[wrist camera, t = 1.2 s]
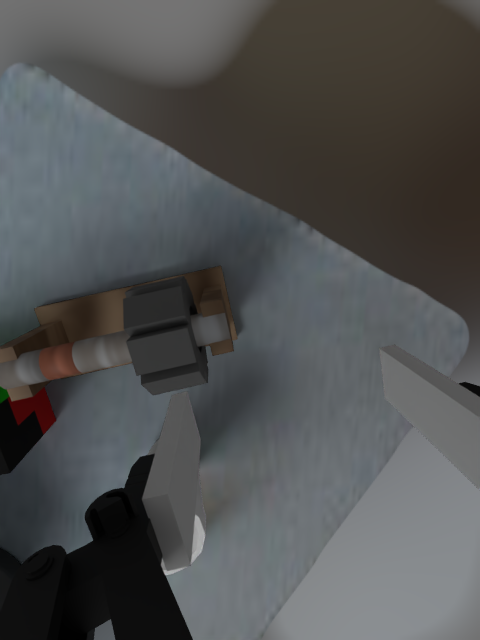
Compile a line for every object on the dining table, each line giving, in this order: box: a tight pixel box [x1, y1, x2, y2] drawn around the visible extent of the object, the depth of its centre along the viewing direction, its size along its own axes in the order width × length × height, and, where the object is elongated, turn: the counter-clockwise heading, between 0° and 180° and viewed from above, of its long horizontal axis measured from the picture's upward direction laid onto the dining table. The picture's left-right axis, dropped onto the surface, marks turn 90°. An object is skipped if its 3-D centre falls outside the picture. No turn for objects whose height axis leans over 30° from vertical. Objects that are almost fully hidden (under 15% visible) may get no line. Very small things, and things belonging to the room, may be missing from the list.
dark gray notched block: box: [123, 276, 208, 395], centre depth 32 cm, size 5×10×10 cm, turn 12°
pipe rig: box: [0, 266, 237, 401], centre depth 35 cm, size 22×9×12 cm, turn 102°
